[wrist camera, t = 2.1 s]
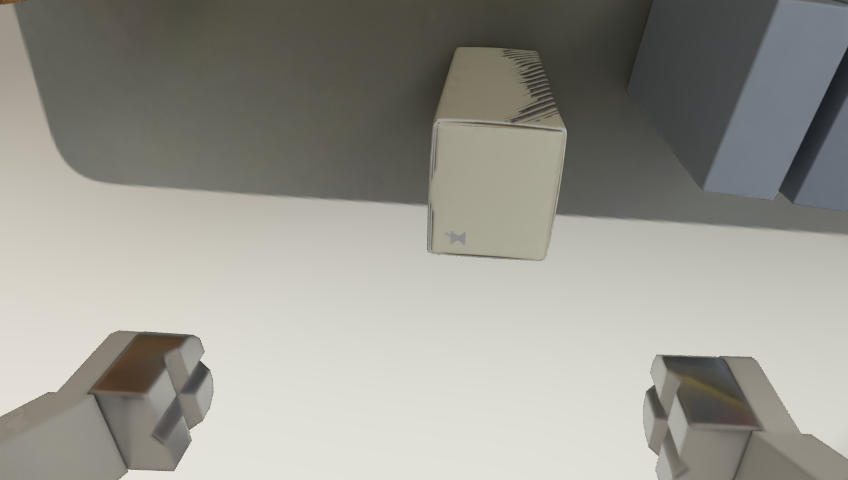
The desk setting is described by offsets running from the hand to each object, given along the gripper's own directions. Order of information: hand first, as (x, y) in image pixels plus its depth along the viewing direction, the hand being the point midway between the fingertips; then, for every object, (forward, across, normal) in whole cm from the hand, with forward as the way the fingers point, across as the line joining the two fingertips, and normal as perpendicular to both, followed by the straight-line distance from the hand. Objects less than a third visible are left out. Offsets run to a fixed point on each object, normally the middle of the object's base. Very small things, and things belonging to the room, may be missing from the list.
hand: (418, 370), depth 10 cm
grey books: (+22, -13, -1) cm, 26 cm away
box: (+22, -1, +1) cm, 22 cm away
